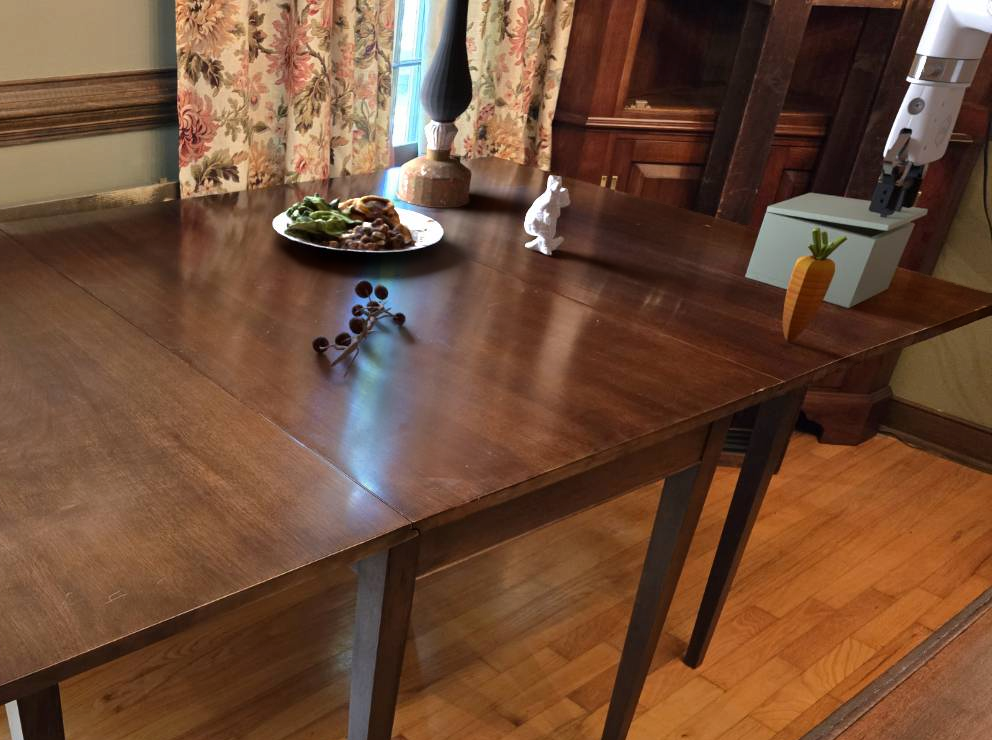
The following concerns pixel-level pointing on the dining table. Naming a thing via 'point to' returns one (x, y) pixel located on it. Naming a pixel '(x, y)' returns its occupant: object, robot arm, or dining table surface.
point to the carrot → (809, 284)
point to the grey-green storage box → (857, 260)
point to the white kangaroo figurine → (547, 216)
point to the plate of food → (357, 225)
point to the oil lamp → (442, 120)
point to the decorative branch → (359, 322)
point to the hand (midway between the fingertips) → (890, 208)
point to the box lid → (848, 210)
